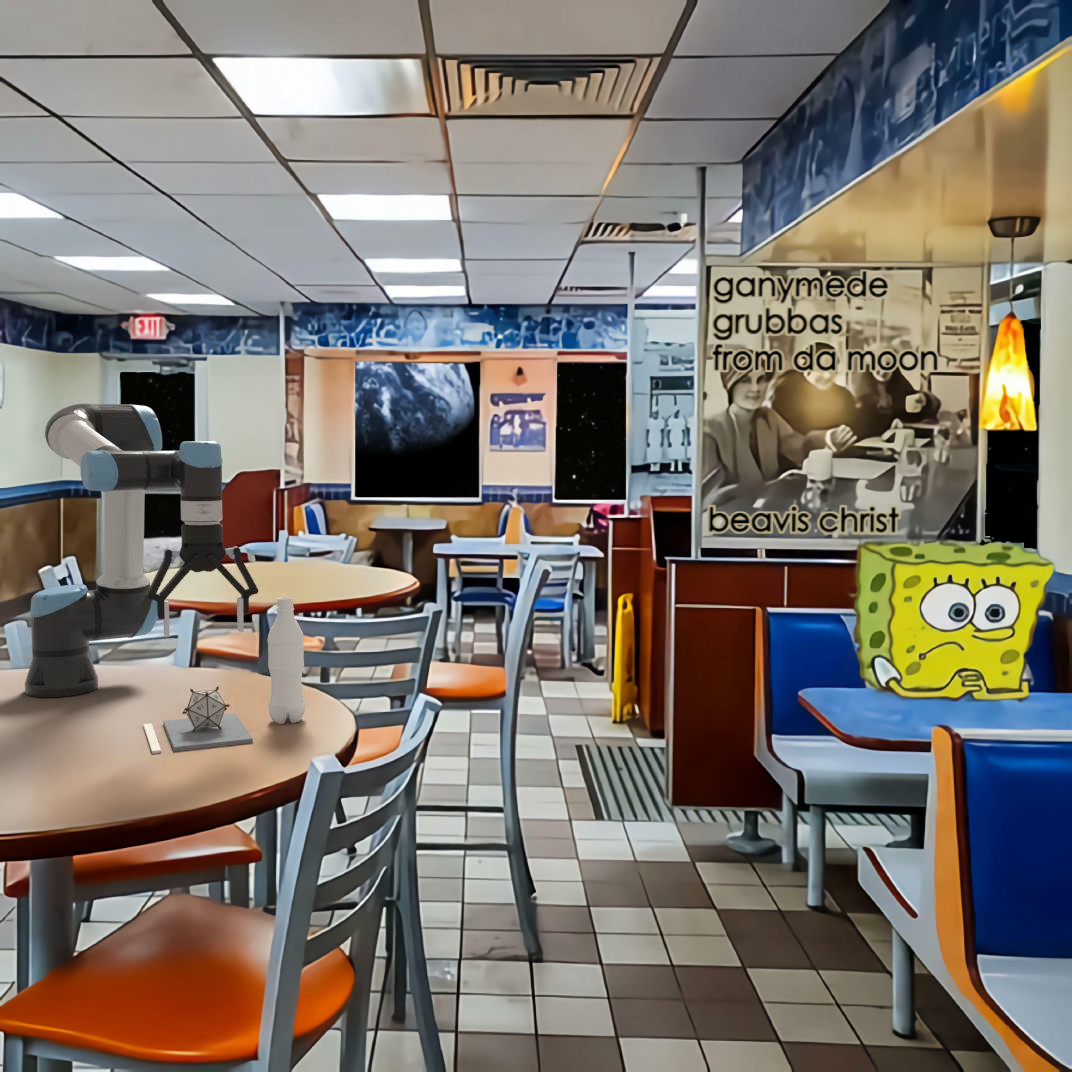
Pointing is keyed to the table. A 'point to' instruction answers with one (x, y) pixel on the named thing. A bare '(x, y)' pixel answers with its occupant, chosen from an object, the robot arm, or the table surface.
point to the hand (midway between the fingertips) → (204, 633)
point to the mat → (206, 734)
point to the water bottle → (286, 665)
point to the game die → (205, 709)
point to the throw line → (152, 738)
